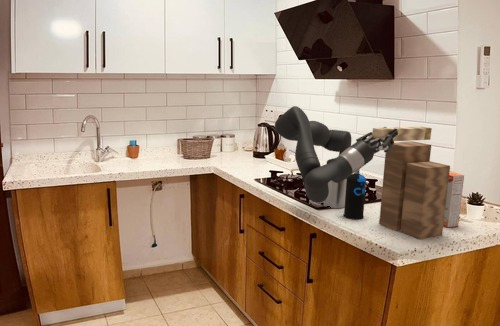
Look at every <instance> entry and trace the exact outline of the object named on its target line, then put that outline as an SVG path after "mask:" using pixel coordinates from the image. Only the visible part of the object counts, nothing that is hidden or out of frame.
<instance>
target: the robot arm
mask: <svg viewBox="0 0 500 326" xmlns="http://www.w3.org/2000/svg"><path fill="white" fill-rule="evenodd" d="M382 128H388V127H387V126H384V127H382ZM393 128H394V127H393ZM274 129H275V131H276V132H277V134H278V135H279V136H280V137H282V138H283V139H285V140H288V141H296V142H297V143H296V147H295V152H294V154H295V155H294V158H295V162H296V165H297V168H298V171H299V173H300V175H301V178H302V182H303V187H304V190H305V191H304V192H305V194H306V196H307V198H308V200H309V201H311V202H312V203H313V202H314V203H318V204H320V203H323V207H327V206H330V207H331V209H342V208H344V207H345V194H346V181H347V179H346V178H347V177H349V176H350V175H351V174H354V172H356V171H358V170H359V169H360V170H361V169H362V168H363V167H365V166H366V165H367V164H369V162H371V161H372V160H373V159H374V155H375V154H376V153H378V152H380V151H383V152H384V153H386V152H388V151H389V149H390V148H391V147H392V145H393V144H394V143H395V141H393V138H394V137H395V136H397V135H398V131H397V129H395V128H394V129H393V130H392V131H390V132H389V133H388V134H387V135H385V136H383V137H378V138H376V139H375V138H373V135H372V132H373V131H370V132H368V133H366V134H364V135H362V136H360V137H358V138H356V139H355V141H356V142H355V143H353V144H352V134H351V132H350V131H348V130H347V131H346V130H341V129H340V130H338V129H330V128H328V126H327V125H326V124H324V123H323V122H319V121H316V120H309V117H308V114H307V113H305V111H304V110H303V109H302V108H300V107H299V106H296V105H294V106H293V105H292V106H291V107H290V108H288V109H287V110H286V111H285V112H284V113H283V114H281V116H279V117H278V118H277V119H276V121H275V122H274ZM386 138H387V139H386ZM384 139H386V141H385V140H384ZM380 140H381V141H382V142H380ZM315 147H322V148H324V149H325V150H326V151H330V152H336V153H338V156H337V157H334V158H330V159H327V160H326V164H323V165H321V162H320V159H319V157H318V154H317V152H316V150H315ZM330 207H329V208H330Z"/></svg>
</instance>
